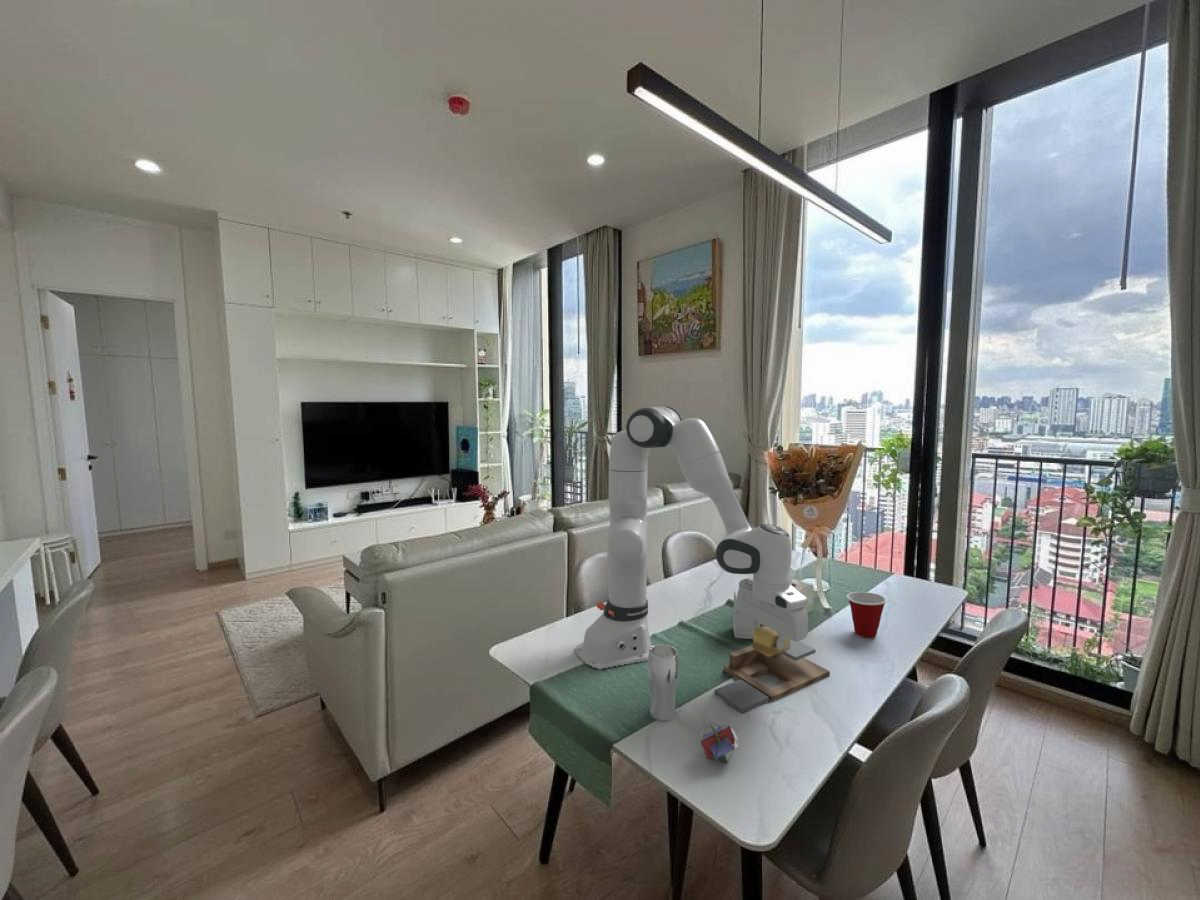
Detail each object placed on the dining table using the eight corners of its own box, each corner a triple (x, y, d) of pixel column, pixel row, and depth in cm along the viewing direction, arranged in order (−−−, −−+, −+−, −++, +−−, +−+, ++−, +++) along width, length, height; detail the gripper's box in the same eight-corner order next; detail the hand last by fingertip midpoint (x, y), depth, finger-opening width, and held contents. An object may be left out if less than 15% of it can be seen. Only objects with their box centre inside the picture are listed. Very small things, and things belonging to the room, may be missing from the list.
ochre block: (768, 657, 122) (769, 637, 121) (752, 648, 126) (753, 629, 125) (782, 652, 124) (783, 633, 124) (766, 643, 128) (767, 625, 128)
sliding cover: (795, 660, 126) (795, 646, 125) (758, 641, 136) (759, 627, 136) (815, 652, 130) (816, 638, 129) (778, 634, 140) (778, 621, 140)
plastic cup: (852, 622, 159) (853, 586, 158) (889, 633, 151) (891, 596, 150) (839, 634, 151) (841, 596, 150) (878, 646, 144) (880, 606, 142)
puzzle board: (771, 701, 118) (772, 681, 117) (723, 670, 131) (724, 652, 131) (829, 675, 129) (830, 657, 128) (779, 649, 142) (780, 632, 142)
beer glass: (641, 712, 114) (641, 651, 112) (660, 700, 119) (660, 640, 117) (665, 726, 109) (665, 662, 107) (684, 712, 114) (684, 651, 112)
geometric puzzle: (700, 762, 95) (723, 728, 95) (687, 738, 102) (709, 707, 102) (727, 778, 96) (750, 745, 97) (713, 754, 103) (734, 723, 103)
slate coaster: (741, 713, 113) (741, 709, 113) (714, 693, 121) (714, 689, 121) (768, 701, 118) (768, 697, 118) (740, 682, 125) (740, 679, 125)
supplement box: (759, 640, 148) (760, 599, 147) (734, 638, 149) (735, 598, 148) (757, 629, 155) (757, 590, 154) (732, 627, 156) (733, 588, 155)
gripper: (731, 578, 131) (729, 628, 132) (796, 607, 113) (792, 664, 115) (748, 574, 134) (745, 623, 135) (813, 601, 116) (810, 657, 118)
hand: (767, 642), depth 125 cm, fingers closed on ochre block, 5 cm apart
